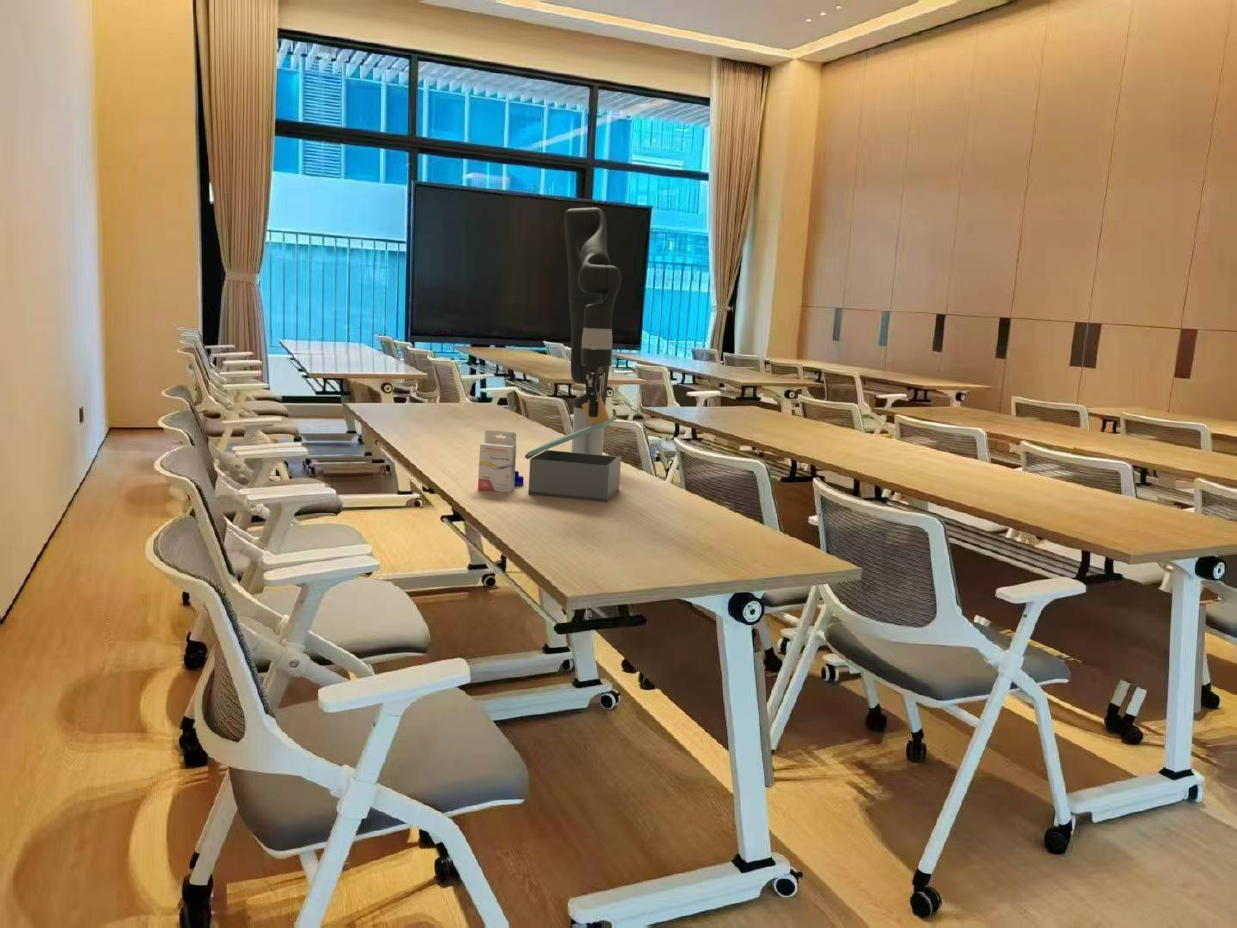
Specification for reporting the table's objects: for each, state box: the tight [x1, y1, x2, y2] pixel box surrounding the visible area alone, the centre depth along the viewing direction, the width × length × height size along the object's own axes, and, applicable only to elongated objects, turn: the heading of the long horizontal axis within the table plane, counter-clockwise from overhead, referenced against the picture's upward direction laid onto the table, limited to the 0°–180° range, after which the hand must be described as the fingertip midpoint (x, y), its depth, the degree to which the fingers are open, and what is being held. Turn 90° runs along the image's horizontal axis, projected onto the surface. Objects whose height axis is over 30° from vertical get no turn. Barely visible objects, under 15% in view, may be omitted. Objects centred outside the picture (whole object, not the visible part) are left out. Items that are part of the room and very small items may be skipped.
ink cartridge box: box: [477, 429, 517, 493], centre depth 236 cm, size 9×5×15 cm, turn 84°
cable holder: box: [514, 470, 525, 487], centre depth 247 cm, size 8×4×4 cm, turn 35°
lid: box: [524, 397, 618, 460], centre depth 238 cm, size 17×22×8 cm
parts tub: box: [528, 449, 622, 503], centre depth 239 cm, size 16×20×9 cm
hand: (594, 416), depth 236 cm, fingers closed on lid
